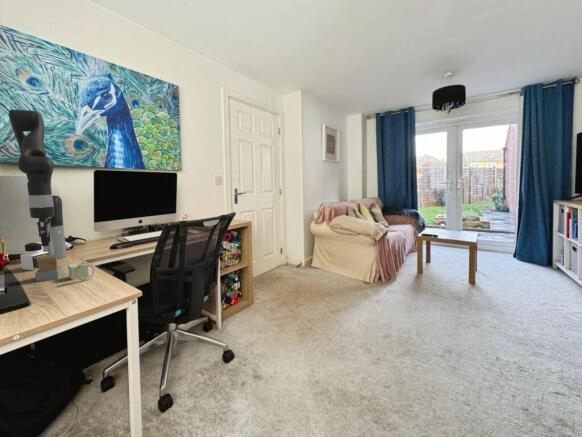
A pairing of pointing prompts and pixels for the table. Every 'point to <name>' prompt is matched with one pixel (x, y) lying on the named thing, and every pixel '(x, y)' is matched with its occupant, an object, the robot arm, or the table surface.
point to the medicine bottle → (32, 256)
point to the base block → (48, 275)
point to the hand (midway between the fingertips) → (46, 243)
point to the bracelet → (82, 266)
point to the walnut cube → (47, 263)
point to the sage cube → (80, 273)
